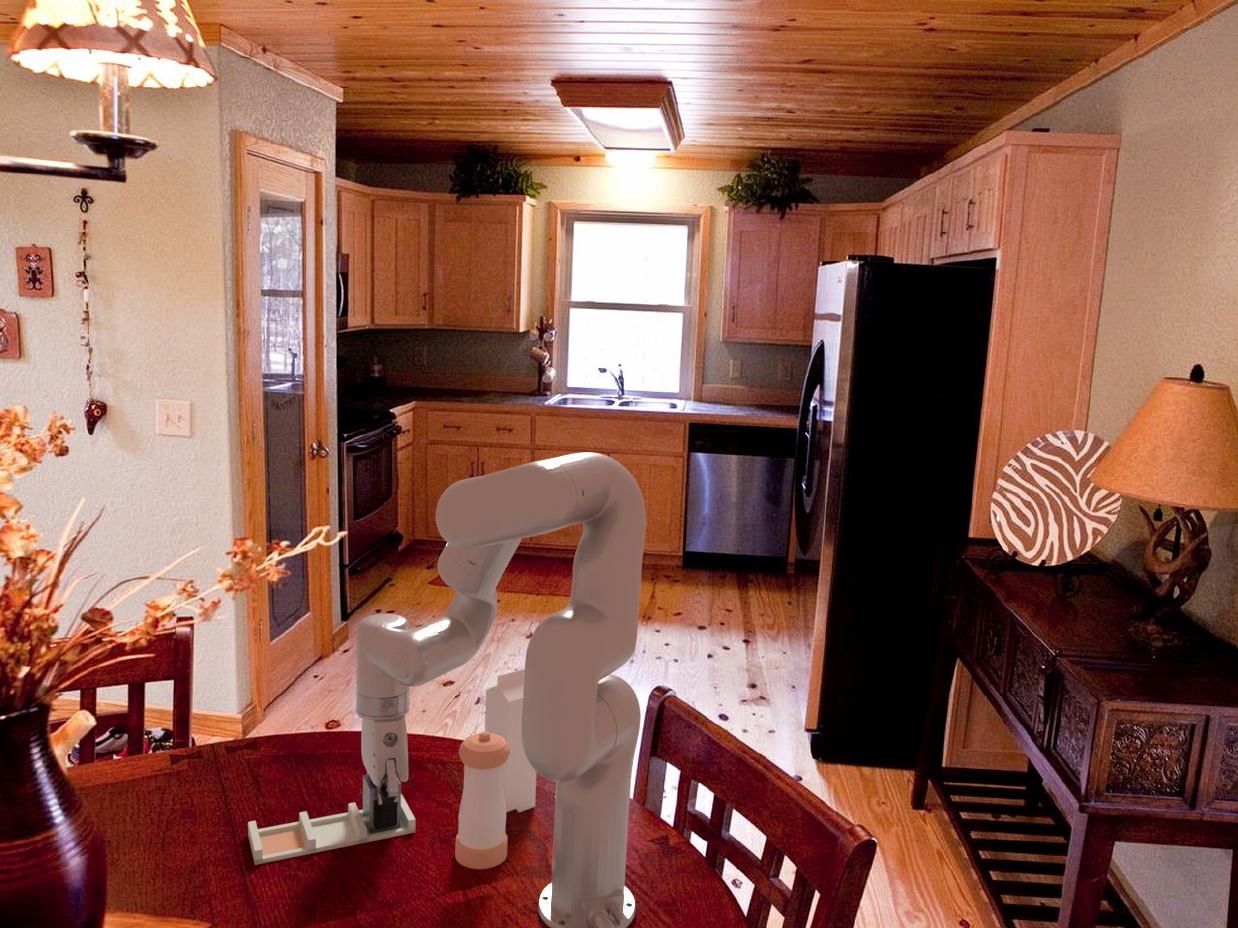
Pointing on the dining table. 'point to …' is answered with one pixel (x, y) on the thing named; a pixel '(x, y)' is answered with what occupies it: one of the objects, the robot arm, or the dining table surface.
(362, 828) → the white compartment tray
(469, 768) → the pepper shaker
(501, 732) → the milk
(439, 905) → the dining table surface
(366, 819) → the tall gray pillar
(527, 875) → the dining table surface
